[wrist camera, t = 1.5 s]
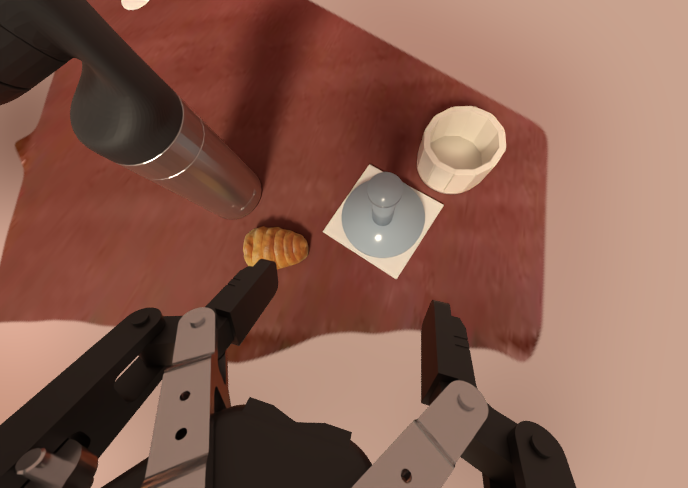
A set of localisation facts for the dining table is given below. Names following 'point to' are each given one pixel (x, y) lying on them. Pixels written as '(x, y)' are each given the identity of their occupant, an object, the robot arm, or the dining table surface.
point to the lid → (383, 216)
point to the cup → (459, 149)
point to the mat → (391, 264)
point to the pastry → (274, 246)
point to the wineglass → (133, 4)
